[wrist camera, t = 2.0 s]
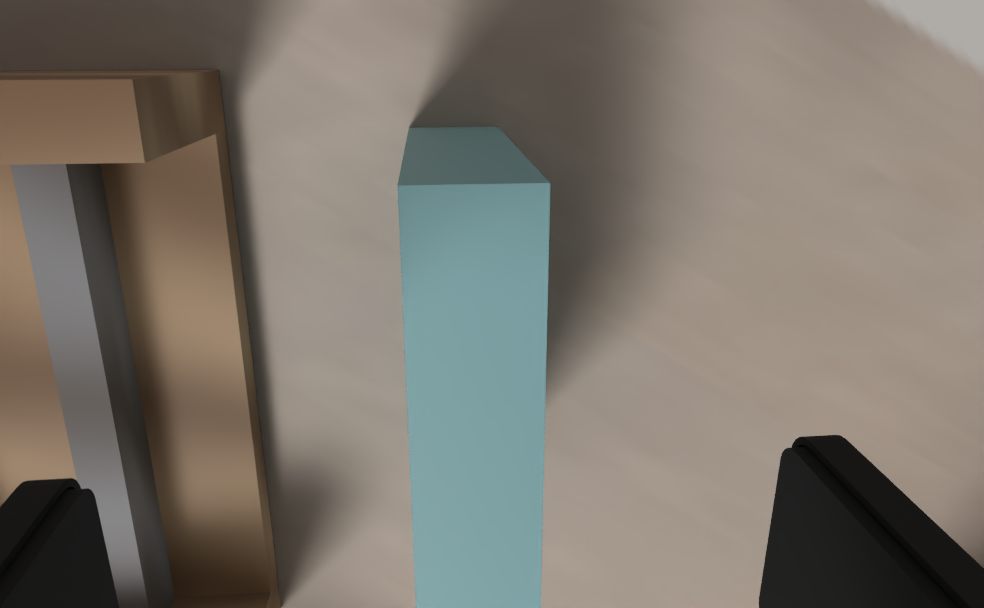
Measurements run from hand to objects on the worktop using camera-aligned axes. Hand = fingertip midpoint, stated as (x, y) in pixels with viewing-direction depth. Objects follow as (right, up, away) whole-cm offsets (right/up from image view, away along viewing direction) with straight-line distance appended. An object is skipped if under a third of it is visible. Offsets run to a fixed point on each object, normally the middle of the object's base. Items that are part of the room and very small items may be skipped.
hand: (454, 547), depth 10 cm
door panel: (-1, +3, +12) cm, 12 cm away
